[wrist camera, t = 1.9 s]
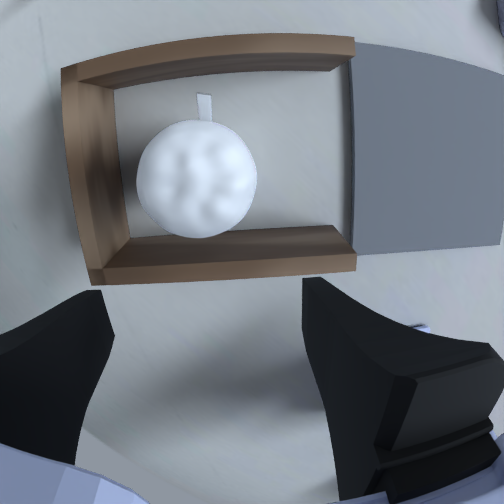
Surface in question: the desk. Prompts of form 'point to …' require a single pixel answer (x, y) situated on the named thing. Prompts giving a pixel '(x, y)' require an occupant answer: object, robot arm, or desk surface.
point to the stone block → (501, 15)
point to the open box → (109, 176)
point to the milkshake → (196, 176)
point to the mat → (424, 152)
